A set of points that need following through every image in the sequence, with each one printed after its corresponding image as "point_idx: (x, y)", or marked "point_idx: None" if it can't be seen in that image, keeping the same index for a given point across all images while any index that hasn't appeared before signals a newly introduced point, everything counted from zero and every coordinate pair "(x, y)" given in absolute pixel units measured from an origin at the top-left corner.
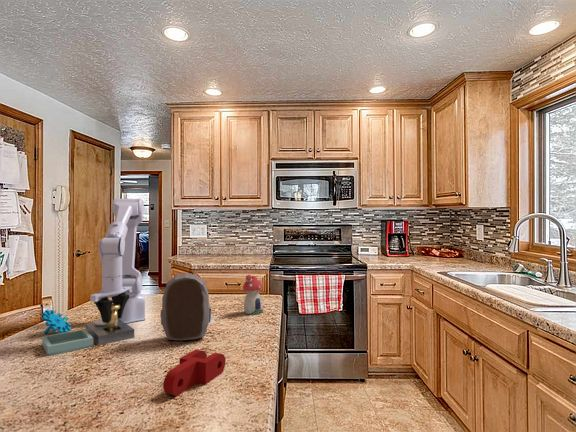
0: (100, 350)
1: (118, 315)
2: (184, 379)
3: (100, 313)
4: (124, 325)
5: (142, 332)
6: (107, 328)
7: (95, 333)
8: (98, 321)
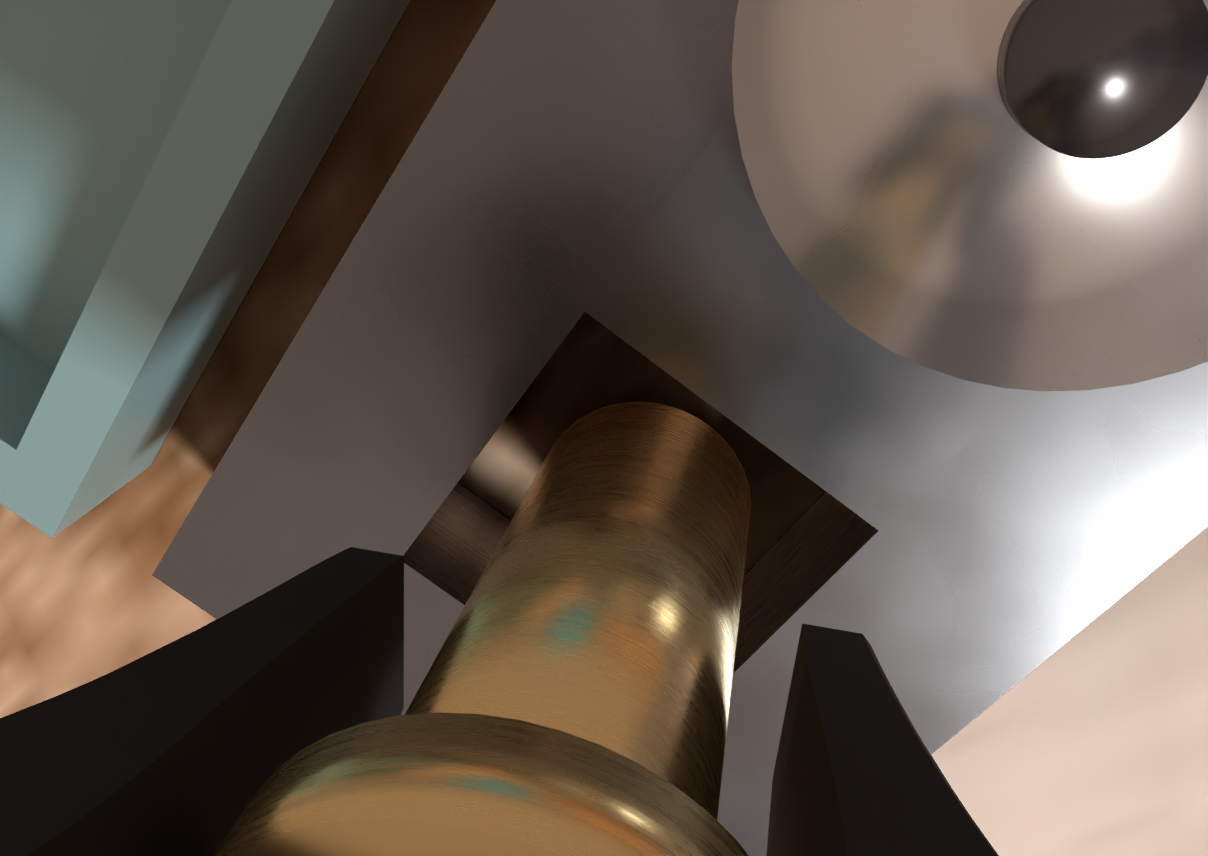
0: (91, 659)
1: (781, 797)
2: None
3: (150, 670)
4: (929, 659)
5: (1014, 831)
6: (514, 515)
7: (263, 391)
8: None
